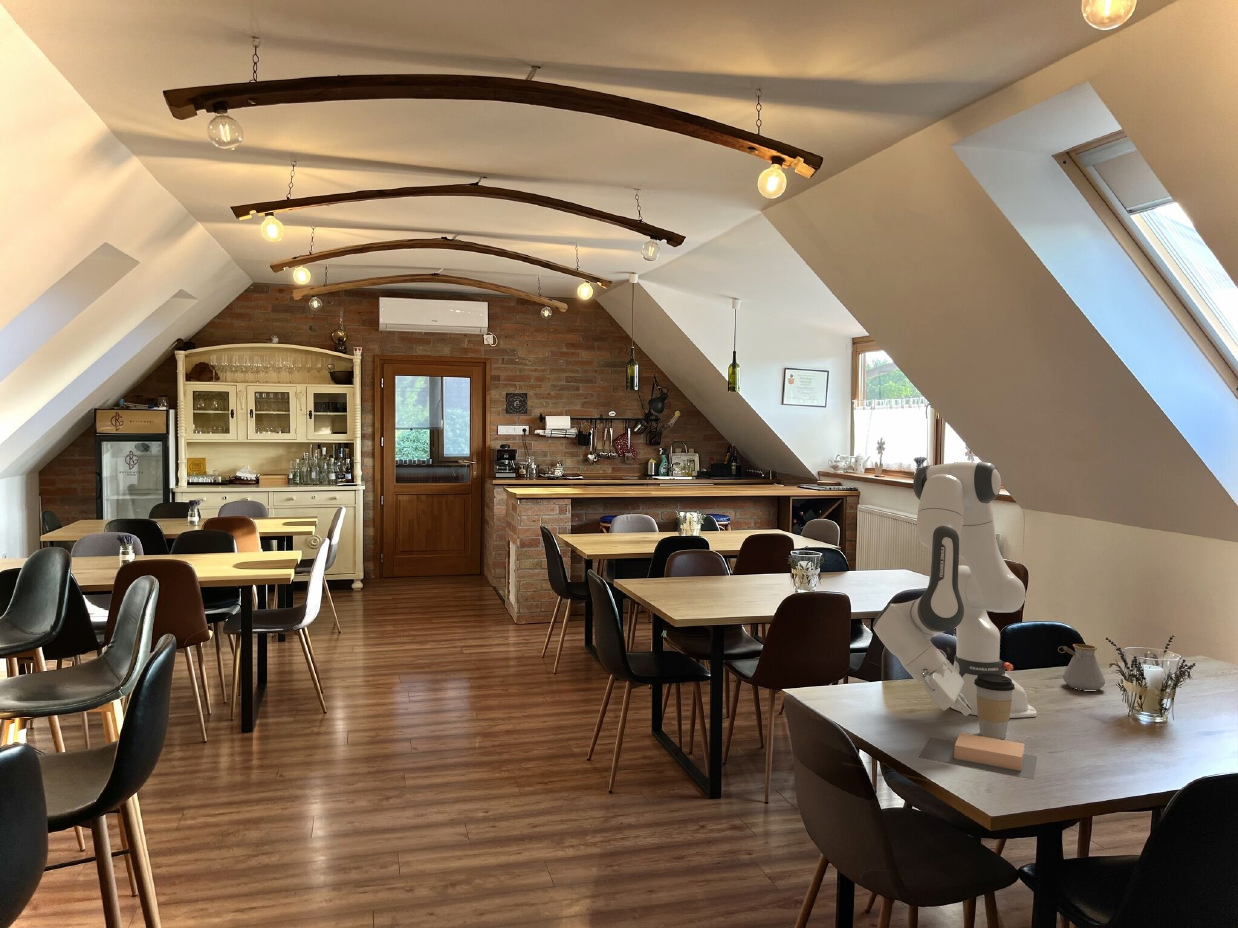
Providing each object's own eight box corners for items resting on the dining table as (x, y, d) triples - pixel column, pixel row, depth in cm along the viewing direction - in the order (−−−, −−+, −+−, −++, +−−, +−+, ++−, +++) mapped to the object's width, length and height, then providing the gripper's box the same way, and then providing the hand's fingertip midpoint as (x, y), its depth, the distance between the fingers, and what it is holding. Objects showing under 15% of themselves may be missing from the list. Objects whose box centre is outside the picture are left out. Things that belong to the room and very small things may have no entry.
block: (954, 745, 198) (1021, 757, 191) (960, 732, 207) (1024, 743, 200) (954, 759, 198) (1021, 771, 191) (959, 746, 207) (1024, 757, 200)
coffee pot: (1072, 680, 270) (1074, 633, 270) (1111, 689, 261) (1113, 640, 261) (1039, 691, 257) (1041, 642, 256) (1079, 701, 248) (1081, 650, 247)
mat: (918, 759, 199) (918, 757, 199) (929, 738, 213) (929, 736, 213) (1033, 781, 187) (1033, 778, 187) (1037, 758, 202) (1037, 755, 202)
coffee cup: (1010, 746, 209) (1012, 685, 209) (968, 738, 214) (971, 678, 214) (1015, 735, 217) (1017, 676, 217) (975, 727, 222) (977, 670, 222)
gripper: (930, 666, 195) (974, 717, 191) (943, 648, 213) (984, 694, 209) (909, 683, 197) (952, 733, 193) (923, 663, 215) (964, 709, 211)
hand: (969, 712), depth 201 cm, fingers closed
